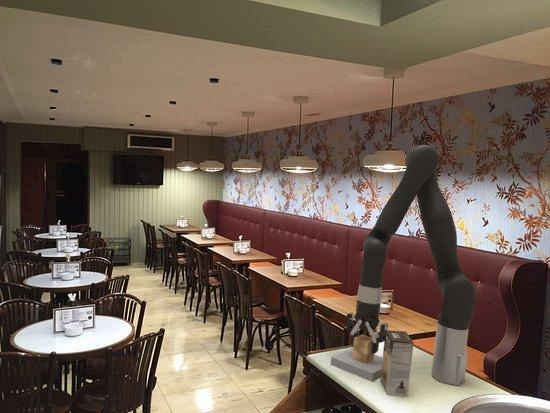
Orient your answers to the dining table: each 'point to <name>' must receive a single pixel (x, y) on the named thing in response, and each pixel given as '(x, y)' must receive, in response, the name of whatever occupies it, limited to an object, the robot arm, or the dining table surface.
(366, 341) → the oak block
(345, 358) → the slate base
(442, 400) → the dining table surface
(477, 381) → the dining table surface
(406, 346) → the coffee box
